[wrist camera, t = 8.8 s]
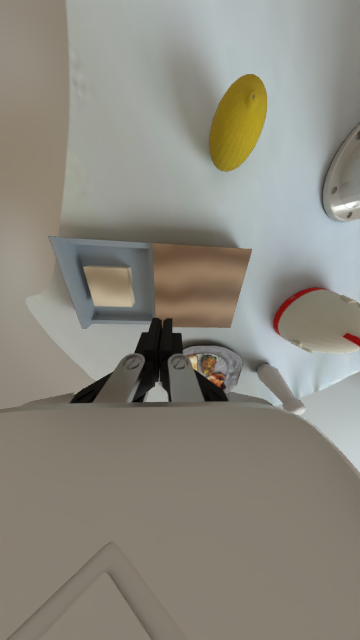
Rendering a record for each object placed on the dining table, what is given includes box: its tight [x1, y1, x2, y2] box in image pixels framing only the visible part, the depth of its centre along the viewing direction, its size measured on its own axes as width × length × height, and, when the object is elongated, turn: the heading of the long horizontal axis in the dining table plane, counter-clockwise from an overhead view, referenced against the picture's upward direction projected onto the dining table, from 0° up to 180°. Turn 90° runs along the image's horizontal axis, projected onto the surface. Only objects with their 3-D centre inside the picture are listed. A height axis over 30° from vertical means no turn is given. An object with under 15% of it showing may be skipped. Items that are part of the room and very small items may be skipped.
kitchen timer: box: [274, 288, 360, 353], centre depth 26 cm, size 14×14×15 cm
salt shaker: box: [257, 364, 306, 415], centre depth 35 cm, size 6×6×13 cm
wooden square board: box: [152, 243, 252, 328], centre depth 25 cm, size 15×16×4 cm
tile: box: [83, 265, 135, 307], centre depth 24 cm, size 7×7×2 cm
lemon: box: [209, 74, 267, 171], centre depth 15 cm, size 6×6×8 cm
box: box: [48, 236, 156, 329], centre depth 24 cm, size 15×14×5 cm
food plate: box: [167, 345, 243, 393], centre depth 39 cm, size 25×23×4 cm
